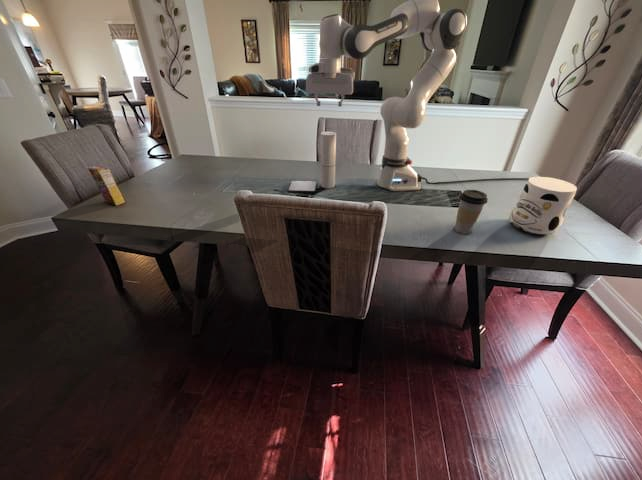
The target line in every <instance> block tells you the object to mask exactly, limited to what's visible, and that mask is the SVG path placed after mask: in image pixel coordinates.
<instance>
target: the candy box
mask: <svg viewBox="0 0 642 480" xmlns="http://www.w3.org/2000/svg"><path fill="white" fill-rule="evenodd" d="M87 170H88V172H89V173H90V176H91V177H92V179H93V181H94V183H95V185H96V187H97V188H98V190H99V193H100V194H101V196H102V198H103V200H104V201H105V202H107V203H109V204H111V205H114V206H119V205H122V204H125V203H126V202H125V200H124V197H123V196H122V193H121V191H120V189H119V187H118V185H117V183H116V181H115V178H114V176H113V174H112V172H111V169H110V168H106V167H103V166H100V165H93V166H90V167H87Z"/></svg>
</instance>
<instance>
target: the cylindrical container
mask: <svg viewBox="0 0 642 480" xmlns="http://www.w3.org/2000/svg"><path fill="white" fill-rule="evenodd" d="M336 155H337V132H335V131H321V132H320V188H323V189H333V188H335V186H336V158H337V157H336Z"/></svg>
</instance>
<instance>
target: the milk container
mask: <svg viewBox="0 0 642 480" xmlns="http://www.w3.org/2000/svg"><path fill="white" fill-rule="evenodd" d="M528 178H529V180H526V181H527V182H526V183H525V185H524V187H523V189H522V191H521V193H520V196H519V197H518V200H517V201H516V203H515V204H514V205H513V206H512V208H511V210H510V211H509V215H508V223H510V225H511V226H513V227H514V228H515V229H517V230H520V231H521V232H524V233H526V234H531V235H535V236H536V235H537V236H546V235H552V234H554V233H555V232H557V230H558V229H559V228H560V227H561V226H562V224H563V221H564V218H565V213H566V211H567V209H568V208H569V206H570V205H571V203H572V201H573V199H574V197H575V196H576V193H577V190H578V187H577V186H576V185H575V184H573V183H571V182H570V181H566V180H563V179H559V178H554V177H549V176H532V177H528Z"/></svg>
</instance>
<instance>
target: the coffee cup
mask: <svg viewBox="0 0 642 480" xmlns="http://www.w3.org/2000/svg"><path fill="white" fill-rule="evenodd" d="M459 199H460V202H459V203H458V209H457V212H456V213H457V214H456V219H455V220H456V221H455V226H454V231H455V232H456V233H458V234H459V233H460V234H463V235H468V234H470V233H471V231H472V230H473V227H474V225H475V224H476V222H477V220H478V219H479V216H480V214H481V213H482V210H483V208H484V206H485V204H487V203H488V201H489V200H488V195H487V194H486V193H485V192H483V191H480V190H476V189H465V190H463V192H462V193H461V194H460V195H459Z"/></svg>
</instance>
